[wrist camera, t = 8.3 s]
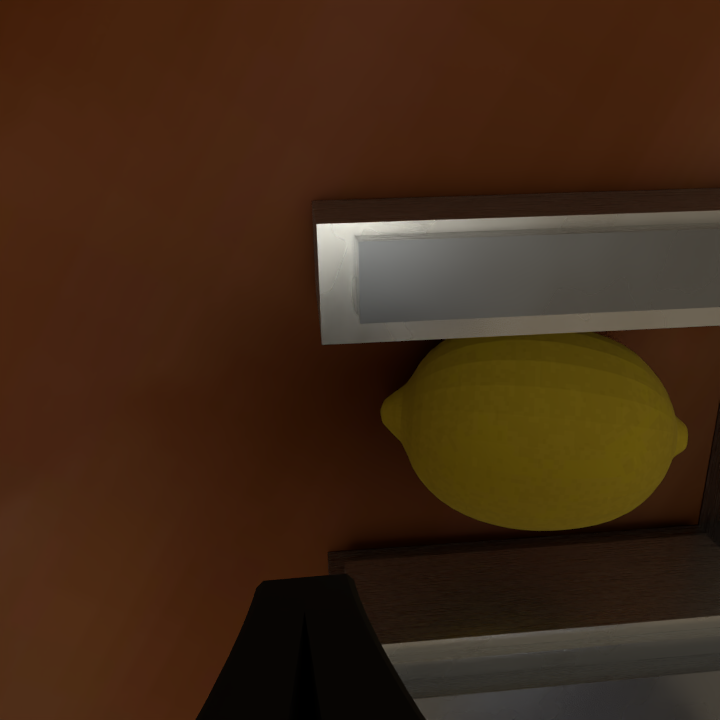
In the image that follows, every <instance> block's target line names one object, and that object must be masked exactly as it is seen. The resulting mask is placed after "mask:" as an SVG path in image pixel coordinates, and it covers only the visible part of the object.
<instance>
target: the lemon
mask: <svg viewBox="0 0 720 720" xmlns="http://www.w3.org/2000/svg"><path fill="white" fill-rule="evenodd" d="M380 413H381V418H382V423H383V424H384V425H385V426H386V427H387V428H388V429H389V430H390V432H391V433H392V434H393V435H394V436H395V437H396V438H397V439H398V440H399V441H400V442H401V443H402V445H403V447H404V449H405V451H406V453H407V455H408V457H409V460H410V462H411V465H412V468H413V469H414V471H415V472H416V474H417V476H418V477H419V479H420V480H421V481H422V482H423V484H424V485H425V486H426V487H427V488H428V489H429V491H431V492H432V493H433V494H434V495H435V496H436V497H437V498H438V499H439V500H441V501H442V502H444V503H445V504H447V505H448V506H449V507H451V508H452V509H454V510H456V511H458V512H460V513H462V514H464V515H466V516H469V517H471V518H474V519H476V520H479V521H482V522H486V523H489V524H492V525H497V526H501V527H506V528H512V529H520V530H532V531H554V530H568V529H576V528H583V527H588V526H594V525H598V524H601V523H605V522H608V521H611V520H613V519H616V518H618V517H620V516H622V515H624V514H626V513H629V512H630V511H632V510H633V509H635V508H636V507H637V506H639V505H640V504H642V503H643V502H644V501H645V500H646V499H647V498H648V497H649V496H650V495H651V494H652V493H653V492H654V490H655V489H656V488H657V486H658V485H659V484H660V483H661V481H662V480H663V478H664V477H665V475H666V473H667V471H668V469H669V467H670V464H671V462H672V459H673V457H675V456H676V455H678V454H679V453H680V452H682V451H683V450H685V448H686V446H687V441H688V430H687V427H686V425H685V424H684V423H683V422H682V421H681V420H679V419H678V418H677V417H676V416H675V413H674V409H673V406H672V404H671V401H670V398H669V396H668V393H667V391H666V389H665V388H664V386H663V384H662V383H661V381H660V379H659V378H658V377H657V376H656V375H655V373H654V372H653V371H652V370H651V368H650V367H649V366H648V365H647V364H646V363H645V362H644V361H643V360H642V359H641V358H640V357H639V356H638V355H637V354H636V353H634V352H633V351H631V350H630V349H628V348H627V347H626V346H624V345H622V344H620V343H618V342H616V341H614V340H612V339H610V338H607V337H605V336H602V335H599V334H597V333H593V332H575V333H554V334H534V335H513V336H493V337H472V338H451V339H446V340H444V341H443V342H441V343H440V344H438V345H437V346H436V347H435V348H434V349H432V350H431V351H430V352H429V353H428V354H427V355H426V356H425V357H424V359H423V360H422V361H421V362H420V364H419V365H418V367H417V369H416V370H415V372H414V374H413V375H412V376H411V378H410V379H409V380H408V382H407V383H406V384H405V385H404V386H402V387H401V388H400V389H398V390H397V391H395V392H394V393H393V394H391V395H390V396H389V397H387V398H386V399H385V400H384V402H383V405H382V407H381V410H380Z"/></svg>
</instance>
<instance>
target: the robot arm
mask: <svg viewBox="0 0 720 720" xmlns="http://www.w3.org/2000/svg"><path fill="white" fill-rule="evenodd" d="M196 720H426V719H425V717H424V716H423V714H422V713H421V711H420V710H419V708H418V706H417V705H416V703H415V702H414V700H413V698H412V697H411V695H410V694H409V692H408V690H407V689H406V687H405V685H404V684H403V682H402V680H401V678H400V677H399V675H398V673H397V671H396V670H395V668H394V666H393V665H392V663H391V661H390V659H389V658H388V656H387V654H386V652H385V650H384V648H383V647H382V645H381V643H380V641H379V639H378V637H377V635H376V633H375V631H374V629H373V627H372V625H371V623H370V621H369V618H368V616H367V614H366V612H365V609H364V607H363V605H362V602H361V600H360V597H359V594H358V591H357V588H356V585H355V581H354V579H353V578H351V577H350V576H349V575H348V574H337V575H326V576H314V577H303V578H291V579H280V580H268V581H263V582H262V583H261V584H260V585H259V586H258V587H257V588H256V591H255V594H254V597H253V600H252V603H251V606H250V608H249V611H248V614H247V616H246V619H245V621H244V624H243V626H242V628H241V631H240V633H239V635H238V637H237V639H236V642H235V644H234V646H233V648H232V650H231V653H230V655H229V657H228V659H227V661H226V663H225V665H224V667H223V669H222V671H221V673H220V675H219V677H218V678H217V680H216V682H215V684H214V686H213V688H212V690H211V692H210V694H209V696H208V698H207V700H206V702H205V704H204V706H203V707H202V709H201V711H200V713H199V715H198V716H197V718H196Z"/></svg>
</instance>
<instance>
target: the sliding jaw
mask: <svg viewBox="0 0 720 720" xmlns="http://www.w3.org/2000/svg"><path fill="white" fill-rule="evenodd" d="M312 217H313V238H314V260H315V282H316V296H317V305H318V314H319V323H320V332H321V341H322V345H328V344H349V343H369V342H390V341H410V340H431V339H451V338H472V337H493V336H513V335H534V334H554V333H575V332H595V331H616V330H636V329H657V328H677V327H698V326H718V325H720V188H705V189H673V190H641V191H609V192H577V193H545V194H513V195H481V196H448V197H416V198H384V199H352V200H320V201H312Z"/></svg>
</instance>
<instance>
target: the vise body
mask: <svg viewBox="0 0 720 720" xmlns="http://www.w3.org/2000/svg"><path fill="white" fill-rule="evenodd" d="M328 568H329V575H337V574H348V575H349V576H350V577H351V578H353V579H354V581H355V585H356V588H357V591H358V594H359V597H360V600H361V602H362V605H363V607H364V609H365V612H366V614H367V616H368V618H369V621H370V623H371V625H372V627H373V629H374V631H375V633H376V635H377V637H378V639H379V641H380V643H381V645H382V647H383V648H384V650H385V652H386V654H387V656H388V658H389V659H390V661H391V663H392V665H393V666H394V668H395V670H396V671H397V673H398V675H399V677H400V678H401V680H402V682H403V684H404V685H405V687H406V689H407V690H408V692H409V694H410V695H411V697H412V698H413V700H414V702H415V703H416V705H417V706H418V708H419V710H420V711H421V713H422V714H423V716H424V717H425V719H426V720H720V408H719V413H718V419H717V424H716V430H715V436H714V441H713V447H712V453H711V458H710V464H709V469H708V475H707V481H706V486H705V492H704V498H703V503H702V509H701V514H700V520H699V525H693V526H679V527H666V528H652V529H639V530H625V531H612V532H598V533H585V534H571V535H558V536H544V537H531V538H517V539H504V540H490V541H477V542H463V543H450V544H436V545H423V546H409V547H396V548H382V549H369V550H355V551H342V552H328Z"/></svg>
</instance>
